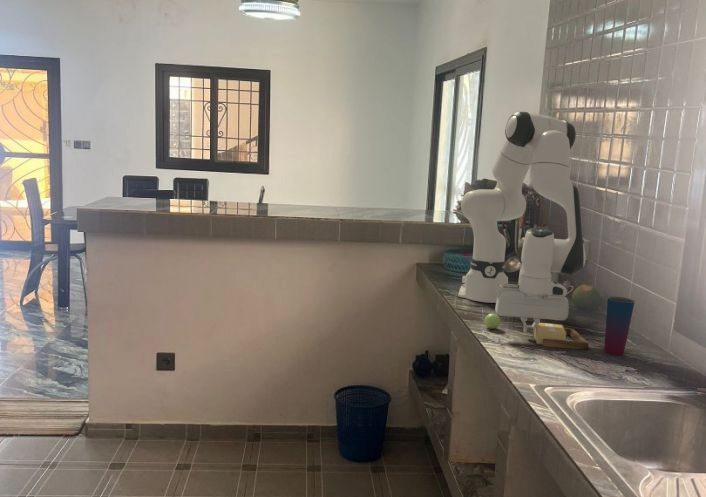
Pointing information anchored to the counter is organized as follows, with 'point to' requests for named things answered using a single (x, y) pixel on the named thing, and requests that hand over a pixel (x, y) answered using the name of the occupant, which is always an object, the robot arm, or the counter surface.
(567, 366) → the counter surface
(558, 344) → the display bay
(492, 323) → the lime
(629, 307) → the cup
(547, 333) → the carton
